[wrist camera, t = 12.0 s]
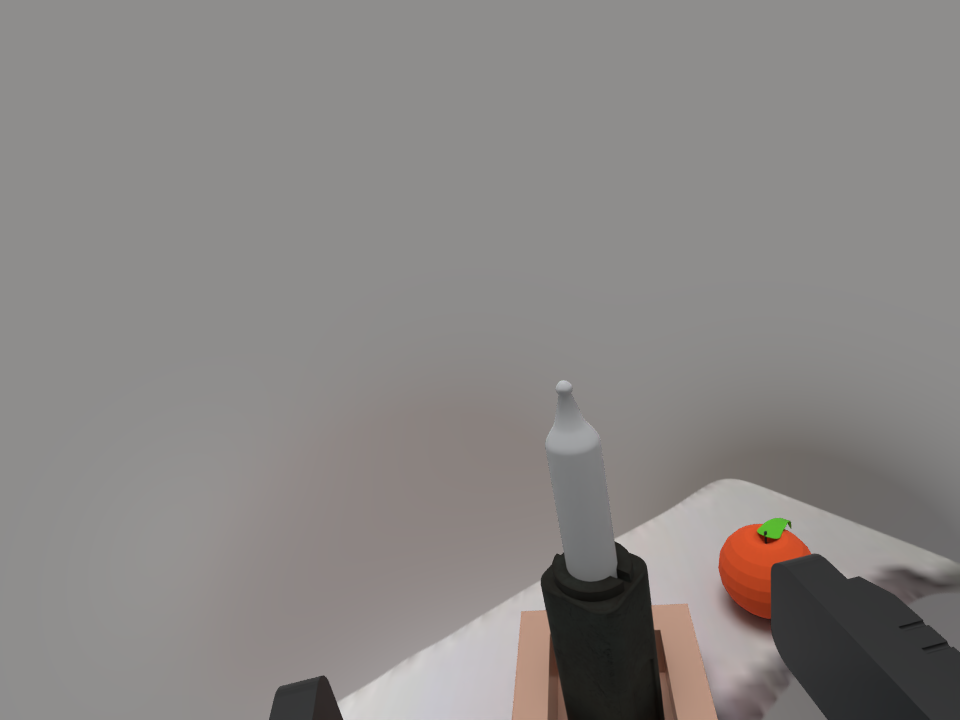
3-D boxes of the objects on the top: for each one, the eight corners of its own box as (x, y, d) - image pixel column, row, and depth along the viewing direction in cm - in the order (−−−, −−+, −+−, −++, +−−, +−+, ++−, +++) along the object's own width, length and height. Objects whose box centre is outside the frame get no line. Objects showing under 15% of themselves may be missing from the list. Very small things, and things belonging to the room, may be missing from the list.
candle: (604, 679, 41) (552, 357, 33) (671, 717, 38) (632, 367, 29) (563, 735, 38) (493, 394, 29) (633, 783, 34) (576, 411, 26)
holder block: (521, 833, 34) (506, 776, 32) (532, 660, 45) (521, 611, 43) (737, 840, 31) (733, 779, 30) (692, 656, 42) (687, 603, 41)
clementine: (749, 555, 51) (746, 487, 48) (837, 589, 46) (839, 515, 43) (704, 612, 46) (699, 540, 44) (797, 656, 41) (796, 577, 38)
